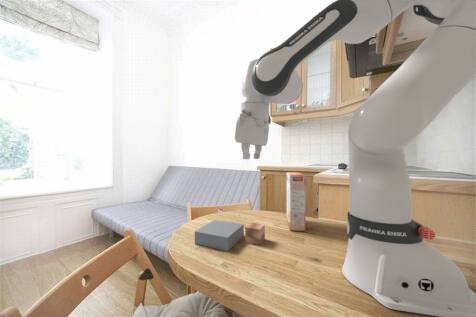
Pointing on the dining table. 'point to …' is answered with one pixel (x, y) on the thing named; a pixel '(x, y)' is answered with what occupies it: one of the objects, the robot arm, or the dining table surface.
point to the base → (219, 234)
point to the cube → (255, 233)
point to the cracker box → (296, 201)
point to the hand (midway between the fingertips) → (251, 159)
